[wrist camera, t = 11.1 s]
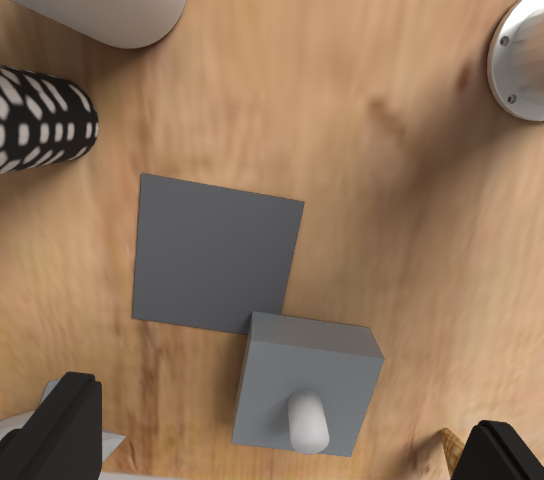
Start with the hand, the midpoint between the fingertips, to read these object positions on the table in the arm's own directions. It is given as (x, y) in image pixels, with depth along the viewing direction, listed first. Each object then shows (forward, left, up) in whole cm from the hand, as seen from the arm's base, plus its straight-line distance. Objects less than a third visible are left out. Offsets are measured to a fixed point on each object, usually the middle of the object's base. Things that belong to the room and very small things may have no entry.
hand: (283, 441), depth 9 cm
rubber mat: (+5, +9, -33) cm, 34 cm away
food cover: (-8, +22, -32) cm, 40 cm away
